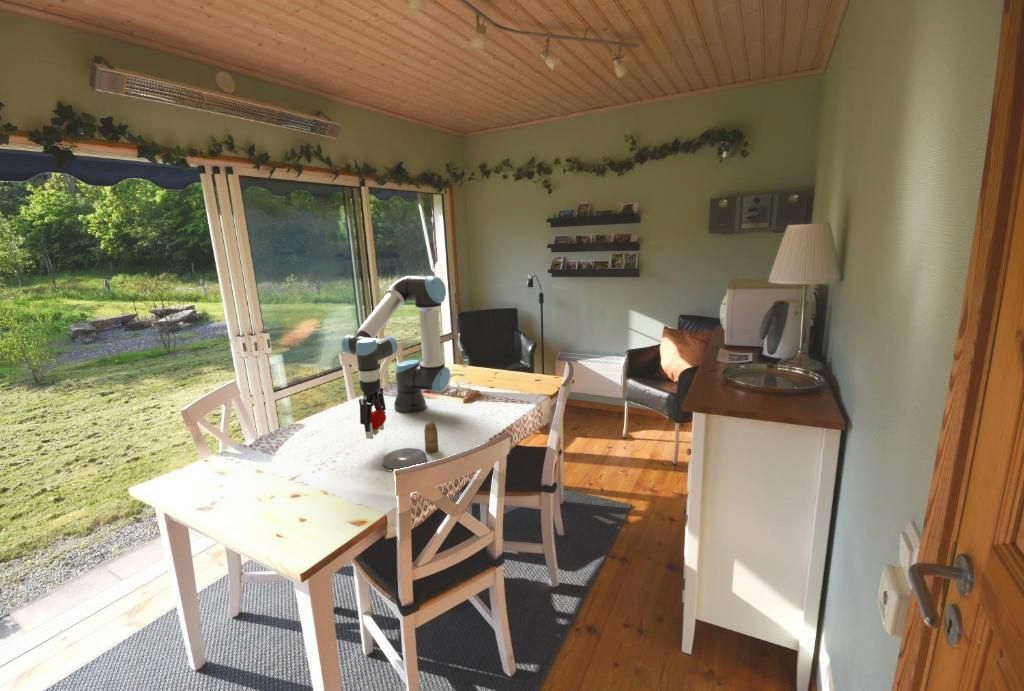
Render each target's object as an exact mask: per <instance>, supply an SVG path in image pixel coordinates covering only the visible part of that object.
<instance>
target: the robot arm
mask: <svg viewBox="0 0 1024 691" xmlns="http://www.w3.org/2000/svg"><path fill="white" fill-rule="evenodd" d="M446 295H447V291H446V285H445V283H444V281H443V280H442V279H441V277H438V276H432V275H406V276H402V277H401V278H399V279H398V280H397V281H395V282H394V283H392V284H391V285H390V286H389V287H388V289H387V290H386V291H385V292H384V297H383V298H382V300H380V302H379V303H378V304H377V306H376V307H375V308H374V309H373V310H372V312H371V313H370V314H369V315H368V316H367V318H366V319H365V321H364V322H363V323H362V324H361V326H360V327H359V328H358V329H357V330H356V331H355V333H354V334H353V335H346V336H344V338H342V341H341V349H342V350H343V352H344V353H345V354H348V355H354V356H355V355H356V361H357V369H358V378H359V388H360V391H362V392H363V395H362V396H363V397H362V398H359V399H358V403H359V415H360V416H359V424H360V425H363V426H364V432H365V439H368V440H373V439H374V434H373V429H372V423H370V421H371V412H373V411H372V410H373V407H374V409H375V411H376V410H381V411H383V412H384V413H385V414H386V410H387V408H386V402H385V396H384V388H382V387H381V385H382V384H381V379H380V378H381V376H380V367H379V361H380V360H383V359H386V358H387V357H391V356H392V355H393V354H396V352H397V351H398V349H399V348H398V346H399V345H398V342H397V340H396V338H394V337H393V336H383V337H381V338H379V337H377V336H378V335H379V333H380V332H381V331H382V330H383V328H384V327H385V325H386V324H387V323H388V322H389V321H390V319H391V318H392V316H393V315H394V314H395V312H396V311H397V310H398V309H399V308H400V307H403V306H404V305H405V303H407V302H415V303H414V304H415V308H417V309H418V311H419V312H418V313H419V315H418V316H419V327H420V341H421V344H420V345H421V353H422V354H421V356H422V360H421V361H420V360H419V359H411V360H410V359H409V360H405V361H401V362H399V363H397V364H396V366H395V381H396V382H395V383H396V397H395V401H394V405H393V406H394V410H395V411H396V412H399V413H415V412H420V411H422V410H424V409H425V408H426V407H427V401H426V399H425V397H424V394H423V392H422V390H425V391H432V392H443V391H444V390H446V388H447V387H448V385H449V383H450V378H451V371H450V369H449V367H447V366H446V364H445V361H444V360H443V359H442V353H441V337H440V336H441V333H440V318H439V309H440V308H441V307H442V303H443V302H445V299H446ZM384 424H385V422H384V423H383V424H382V425H381V426H380V427H379V428H378V430H379V431H384V430H385V425H384Z"/></svg>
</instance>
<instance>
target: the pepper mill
mask: <svg viewBox="0 0 1024 691" xmlns="http://www.w3.org/2000/svg"><path fill="white" fill-rule="evenodd" d="M423 431H424V433H423V434H424V450H425V451H424V452H425V453H426V454H436V453H438V451H439V439H438V438H439V436H438V428H437V424H436V423H435V422H434V421H428V422H426V424H425V426H424V430H423Z"/></svg>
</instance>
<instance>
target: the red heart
mask: <svg viewBox="0 0 1024 691" xmlns="http://www.w3.org/2000/svg"><path fill="white" fill-rule="evenodd" d="M386 420H387V416H386V412H385V413H384V412H383V411H381V410H376V409H375V410H374V411H372V412H371V421H370V423H372V429H373V436H377V435H378V434H379V431H380V430H378V428H379V427H380V426H381V425H382V424H383V423H384V424H385V422H386Z"/></svg>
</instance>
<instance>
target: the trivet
mask: <svg viewBox="0 0 1024 691" xmlns="http://www.w3.org/2000/svg"><path fill="white" fill-rule="evenodd" d="M424 462H427V453H426V451H424V450H421V449H419V448H415V447H414V448H413V447H412V448H411V447H405V448H397V449H395V450H392V451H389V452H388V453H386V454H385V456H384V457H383V458H382V465H384V466H383V467H384V469H386V468H387V469H388V471H389V470H392V471H391V472H393V470H394V469H400V468H404V467H409V466H412V465H416V464H421V463H424ZM387 469H386V470H387Z"/></svg>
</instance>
